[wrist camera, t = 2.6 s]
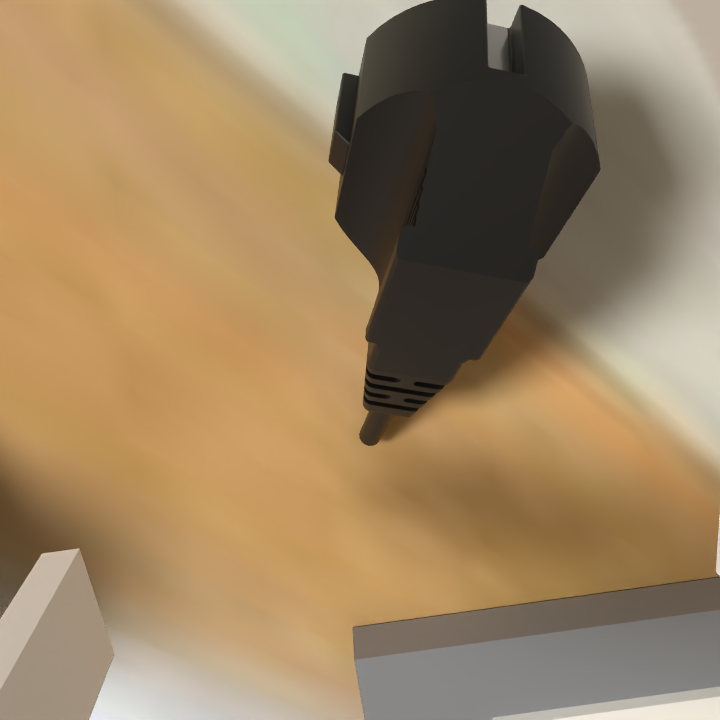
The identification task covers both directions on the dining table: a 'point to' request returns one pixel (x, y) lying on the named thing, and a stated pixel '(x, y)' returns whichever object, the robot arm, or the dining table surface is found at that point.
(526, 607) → the socket board
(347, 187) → the power plug
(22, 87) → the dining table surface
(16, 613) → the robot arm
